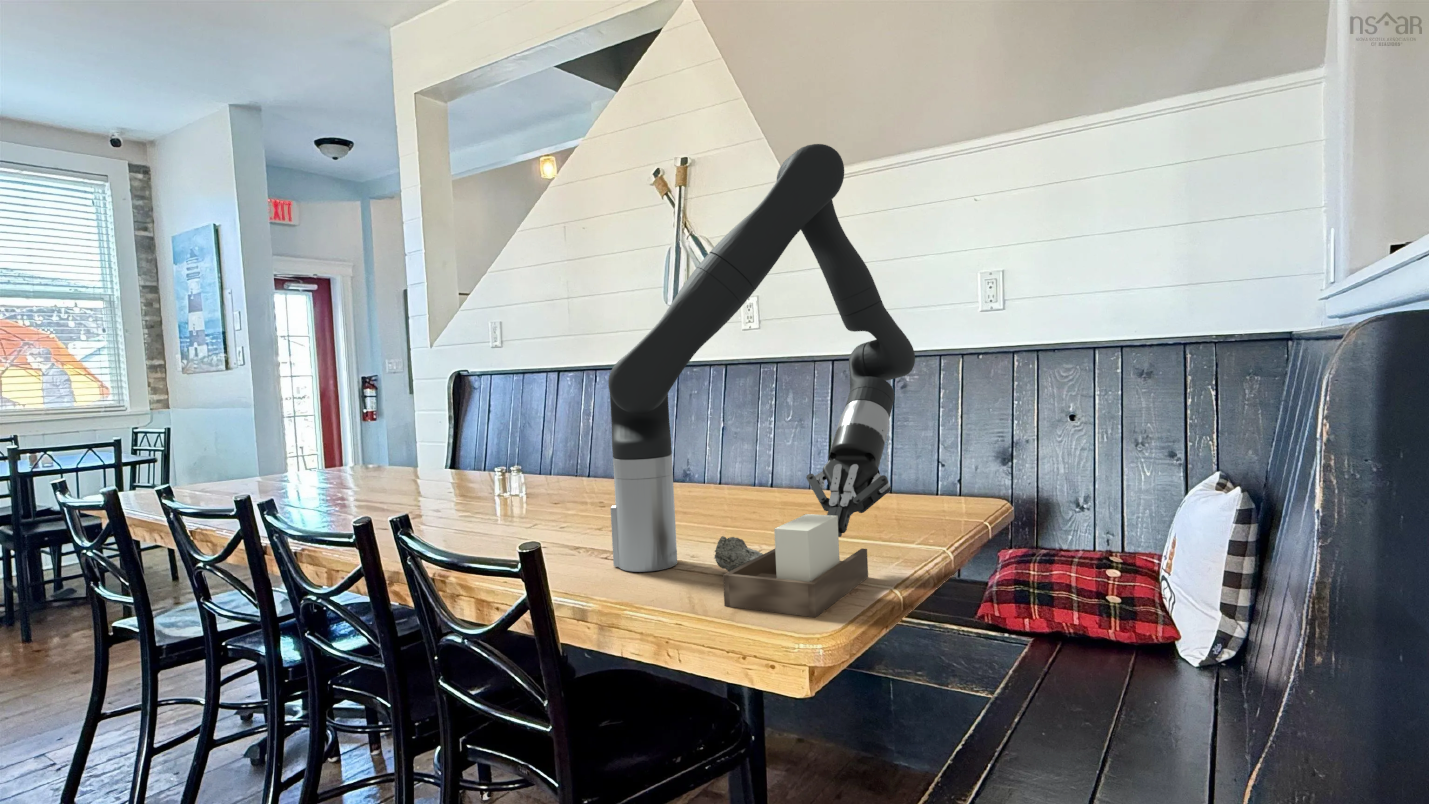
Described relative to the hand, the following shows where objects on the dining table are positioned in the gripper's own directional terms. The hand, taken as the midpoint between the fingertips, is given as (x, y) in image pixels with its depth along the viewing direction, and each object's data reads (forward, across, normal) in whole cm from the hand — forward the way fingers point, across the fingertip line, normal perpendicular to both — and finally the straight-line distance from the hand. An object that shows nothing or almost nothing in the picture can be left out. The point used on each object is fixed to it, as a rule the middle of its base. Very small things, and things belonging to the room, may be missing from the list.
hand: (833, 533), depth 107 cm
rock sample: (+5, -14, +5) cm, 15 cm away
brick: (+10, 0, -3) cm, 10 cm away
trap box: (+9, -3, 0) cm, 10 cm away
